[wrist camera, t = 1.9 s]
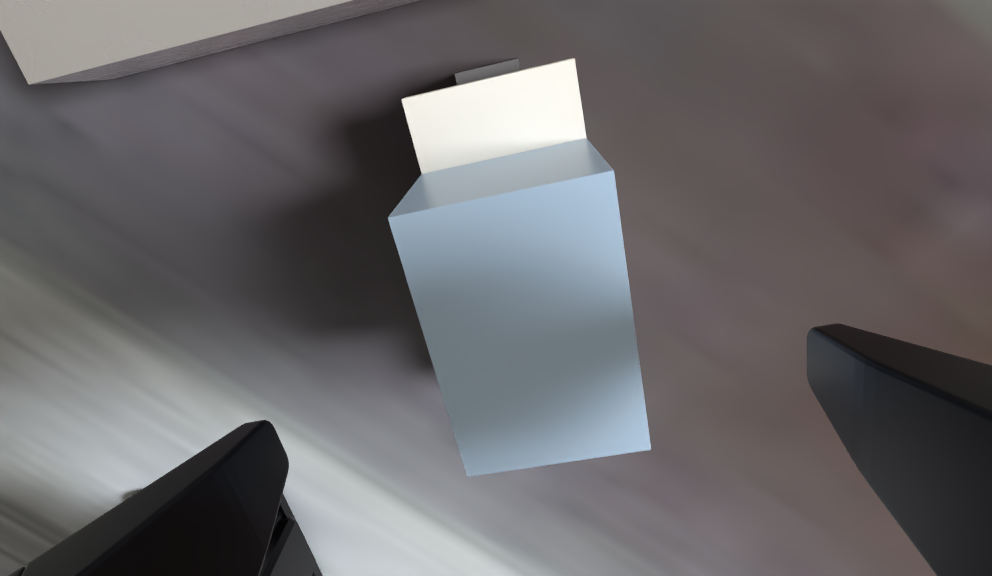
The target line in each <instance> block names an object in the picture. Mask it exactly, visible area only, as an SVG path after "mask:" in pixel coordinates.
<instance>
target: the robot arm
mask: <svg viewBox="0 0 992 576" xmlns="http://www.w3.org/2000/svg"><path fill="white" fill-rule="evenodd" d="M807 378H808V382H809V385H810V387H811V389H812V391H813V393H814V394H815V396H816V398H817V399H818V401H819V403H820V405H821V406H822V408H823V410H824V412H825V413H826V415H827V417H828V418H829V420H830V422H831V424H832V425H833V427H834V429H835V430H836V432H837V434H838V436H839V437H840V439H841V441H842V443H843V444H844V446H845V448H846V449H847V451H848V453H849V455H850V456H851V458H852V460H853V461H854V463H855V464H856V466H857V468H858V469H859V471H860V472H861V474H862V475H863V476H864V478H865V479H866V481H867V482H868V483H869V485H870V486H871V488H872V489H873V490H874V492H875V493H876V494H877V496H878V497H879V498H880V500H881V501H882V502H883V504H884V505H885V506H886V508H887V509H888V510H889V512H890V513H891V515H892V516H893V517H894V519H895V520H896V521H897V523H898V524H899V525H900V527H901V528H902V529H903V531H904V532H905V533H906V535H907V536H908V537H909V539H910V540H911V541H912V543H913V544H914V546H915V547H916V548H917V550H918V551H919V552H920V554H921V555H922V556H923V558H924V559H925V560H926V562H927V563H928V564H929V566H930V567H931V568H932V570H933V571H934V573H935V574H936V575H937V576H992V365H988V364H984V363H981V362H977V361H973V360H970V359H966V358H962V357H959V356H955V355H952V354H948V353H944V352H941V351H937V350H933V349H930V348H926V347H923V346H919V345H915V344H912V343H908V342H904V341H901V340H897V339H893V338H890V337H886V336H883V335H879V334H875V333H872V332H868V331H864V330H861V329H857V328H854V327H850V326H846V325H843V324H830V325H824V326H818V327H814V328H811V329H810V331H809V332H808V335H807ZM288 468H289V462H288V457H287V454H286V452H285V450H284V448H283V446H282V443H281V441H280V439H279V437H278V435H277V433H276V430H275V428H274V426H273V425H272V424H271V423H270V422H269V421H266V420H261V421H255V422H250V423H245V424H243V425H241V426H240V427H238V428H236V429H235V430H233V431H232V432H230V433H229V434H227V435H226V436H224V437H223V438H221V439H219V440H218V441H216V442H215V443H213V444H212V445H210V446H209V447H207V448H206V449H204V450H202V451H201V452H199V453H198V454H196V455H195V456H193V457H192V458H190V459H189V460H187V461H185V462H184V463H182V464H181V465H179V466H178V467H176V468H175V469H173V470H171V471H170V472H168V473H167V474H165V475H164V476H162V477H161V478H159V479H158V480H156V481H154V482H153V483H151V484H150V485H148V486H147V487H145V488H144V489H142V490H141V491H139V492H137V493H136V494H134V495H132V496H131V497H130V498H128V499H127V500H125V501H124V502H122V503H120V504H119V505H117V506H116V507H114V508H113V509H111V510H110V511H108V512H107V513H105V514H103V515H102V516H100V517H99V518H97V519H96V520H94V521H93V522H91V523H89V524H88V525H86V526H85V527H83V528H82V529H80V530H79V531H77V532H76V533H74V534H72V535H71V536H69V537H68V538H66V539H65V540H63V541H62V542H60V543H59V544H57V545H55V546H54V547H52V548H51V549H49V550H48V551H46V552H45V553H43V554H42V555H40V556H38V557H37V558H35V559H34V560H32V561H31V562H29V563H28V564H27V566H26V567H22V568H20V569H18V570H17V571H15V572H14V573H12V574H10V575H9V576H322V573H321V571H320V569H319V567H318V565H317V563H316V560H315V558H314V556H313V554H312V552H311V550H310V548H309V546H308V544H307V542H306V540H305V538H304V535H303V533H302V531H301V529H300V527H299V525H298V523H297V522H296V520H295V518H294V516H293V514H292V512H291V509H290V507H289V505H288V503H287V501H286V499H285V497H284V495H283V489H284V486H285V482H286V478H287V474H288Z"/></svg>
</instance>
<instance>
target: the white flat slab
mask: <svg viewBox="0 0 992 576" xmlns="http://www.w3.org/2000/svg"><path fill="white" fill-rule="evenodd" d="M417 1H421V0H0V31H1V32H2V34H3V36H4V38H5V40H6V42H7V44H8V46H9V48H10V50H11V52H12V54H13V55H14V57H15V59H16V61H17V63H18V65H19V67H20V69H21V71H22V73H23V75H24V77H25V78H26V80H27V82H28V84H29V85H30V84H46V83H63V82H79V81H95V80H112V79H116V78H120V77H124V76H128V75H132V74H136V73H140V72H144V71H148V70H152V69H155V68H159V67H163V66H167V65H171V64H175V63H179V62H183V61H187V60H191V59H194V58H198V57H202V56H206V55H210V54H214V53H218V52H222V51H226V50H230V49H234V48H237V47H241V46H245V45H249V44H253V43H257V42H261V41H265V40H269V39H273V38H276V37H280V36H284V35H288V34H292V33H296V32H300V31H304V30H308V29H312V28H316V27H319V26H323V25H327V24H331V23H335V22H339V21H343V20H347V19H351V18H355V17H358V16H362V15H366V14H370V13H374V12H378V11H382V10H386V9H390V8H394V7H398V6H401V5H405V4H409V3H413V2H417Z"/></svg>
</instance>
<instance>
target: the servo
mask: <svg viewBox="0 0 992 576" xmlns="http://www.w3.org/2000/svg"><path fill="white" fill-rule="evenodd" d="M455 78H456V82H457V85H456V86H451V87H447V88H443V89H439V90H434V91H430V92H426V93H422V94H417V95H413V96H409V97H406V98H403V99H401V100H402V104H403V107H404V111H405V115H406V118H407V122H408V126H409V129H410V133H411V137H412V140H413V144H414V148H415V151H416V155H417V159H418V162H419V166H420V170H421V173H422V174H421V176H420V177H419V178H418V179H417V181H416V182H415V183H414V185H413V186H412V187H411V188H410V190H409V191H408V192H407V194H406V195H405V196H404V197H403V199H402V200H401V201H400V203H399V204H398V205H397V206H396V208H395V209H394V210H393V212H392V213H391V214H390V215H389V217H388V221H389V224H390V227H391V230H392V234H393V237H394V240H395V243H396V247H397V250H398V253H399V256H400V260H401V263H402V266H403V269H404V273H405V276H406V279H407V282H408V286H409V289H410V292H411V295H412V299H413V302H414V305H415V308H416V312H417V315H418V318H419V321H420V325H421V328H422V331H423V334H424V338H425V341H426V344H427V347H428V351H429V354H430V357H431V360H432V364H433V367H434V370H435V373H436V377H437V380H438V383H439V386H440V390H441V393H442V396H443V399H444V403H445V406H446V409H447V412H448V416H449V419H450V422H451V425H452V429H453V432H454V435H455V438H456V442H457V445H458V448H459V451H460V455H461V458H462V461H463V464H464V468H465V471H466V474H467V477H470V476H477V475H484V474H490V473H497V472H504V471H510V470H517V469H524V468H531V467H537V466H544V465H551V464H557V463H564V462H571V461H578V460H584V459H591V458H598V457H604V456H611V455H618V454H625V453H631V452H638V451H645V450H651V445H650V437H649V430H648V422H647V415H646V407H645V400H644V392H643V385H642V378H641V370H640V363H639V355H638V348H637V340H636V333H635V325H634V318H633V310H632V303H631V296H630V288H629V281H628V273H627V266H626V258H625V251H624V243H623V236H622V228H621V221H620V213H619V206H618V199H617V191H616V184H615V176H614V170H613V169H612V168H611V167H610V165H609V164H608V163H607V162H606V161H605V159H604V158H603V157H602V156H601V155H600V154H599V152H598V151H597V150H596V149H595V148H594V146H593V145H592V144H591V143H590V142H589V141H588V139H587V138H586V132H585V125H584V119H583V112H582V105H581V99H580V92H579V85H578V79H577V72H576V65H575V59H574V58H570V59H566V60H562V61H558V62H553V63H549V64H545V65H541V66H536V67H532V68H528V69H524V70H521V69H520V64H519V59H518V58H516V59H512V60H508V61H503V62H499V63H495V64H491V65H487V66H482V67H478V68H474V69H470V70H466V71H462V72H459V73H456V74H455Z"/></svg>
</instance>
